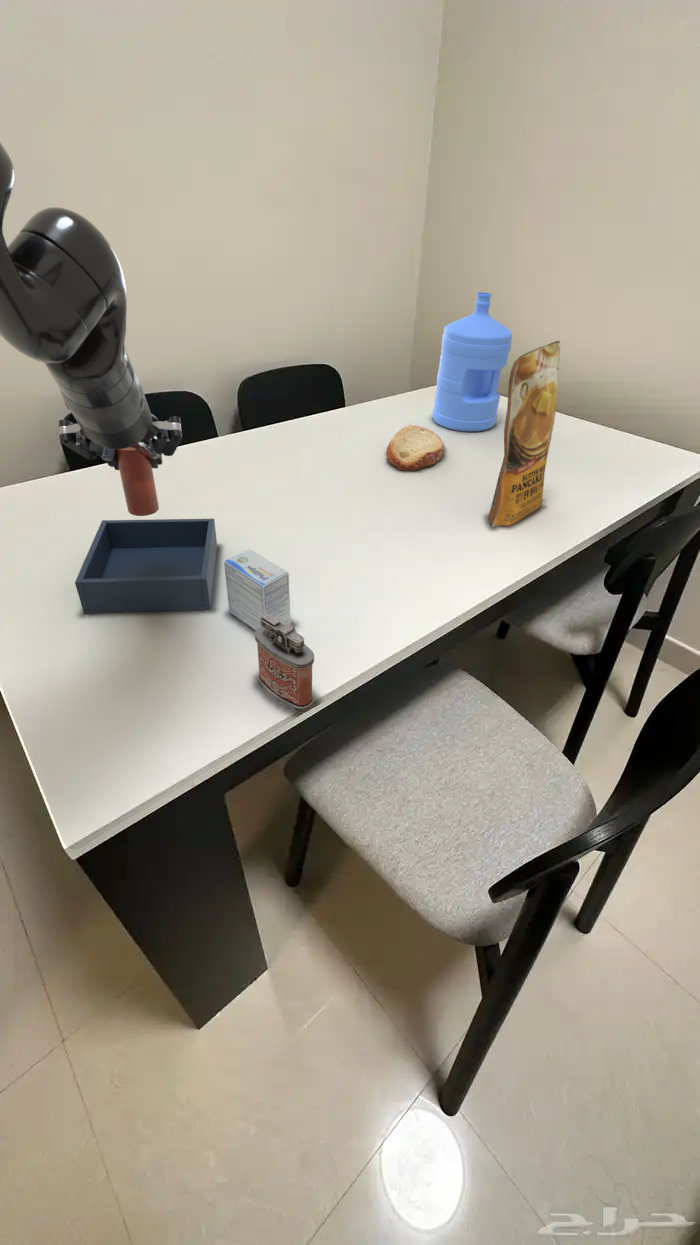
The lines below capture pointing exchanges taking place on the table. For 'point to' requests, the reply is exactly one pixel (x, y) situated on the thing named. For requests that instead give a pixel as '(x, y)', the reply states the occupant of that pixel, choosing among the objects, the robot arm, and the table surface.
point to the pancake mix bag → (526, 435)
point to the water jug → (471, 370)
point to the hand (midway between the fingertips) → (136, 462)
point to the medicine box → (256, 589)
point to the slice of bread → (414, 448)
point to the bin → (149, 566)
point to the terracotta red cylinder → (137, 482)
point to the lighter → (284, 664)
